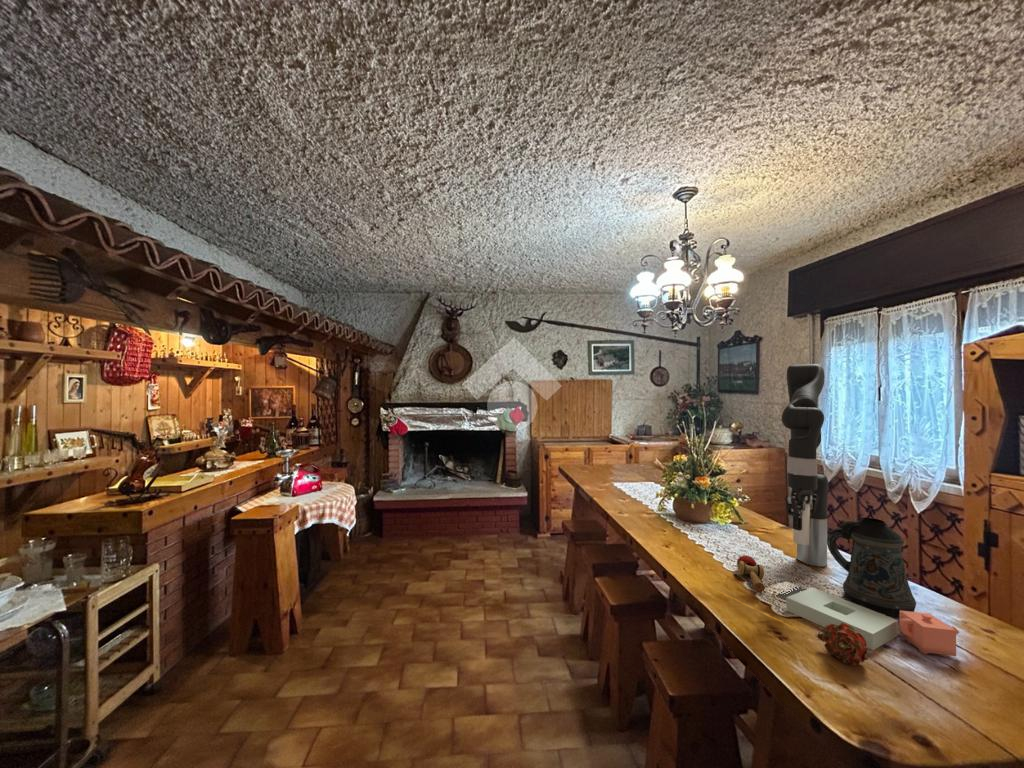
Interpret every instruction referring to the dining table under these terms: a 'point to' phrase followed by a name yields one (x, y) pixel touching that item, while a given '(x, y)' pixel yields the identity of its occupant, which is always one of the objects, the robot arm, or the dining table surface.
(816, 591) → the hole block
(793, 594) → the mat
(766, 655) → the dining table surface
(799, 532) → the peg
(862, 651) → the dried red rose
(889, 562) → the beer stein
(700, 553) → the dining table surface
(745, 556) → the kendama
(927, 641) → the pink cube teapot
